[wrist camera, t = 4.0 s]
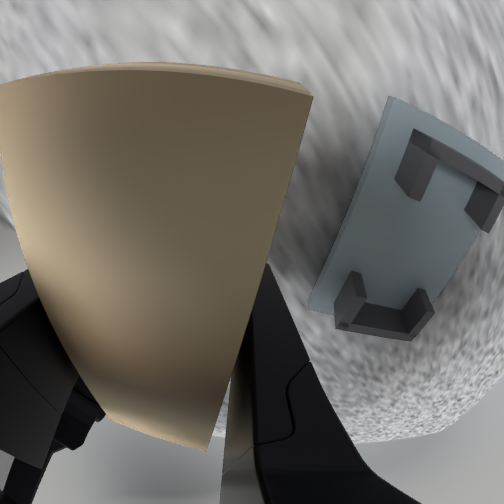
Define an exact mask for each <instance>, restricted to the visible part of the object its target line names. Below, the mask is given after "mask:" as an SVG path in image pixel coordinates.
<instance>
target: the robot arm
mask: <svg viewBox="0 0 504 504" xmlns="http://www.w3.org/2000/svg"><path fill="white" fill-rule="evenodd" d="M309 361H310V359H309V356H308V354H307V352H306V349H305V347H304V345H303V342H302V340H301V337H300V335H299V333H298V330H297V328H296V326H295V323H294V321H293V319H292V316H291V314H290V312H289V310H288V307H287V305H286V303H285V300H284V298H283V296H282V293H281V291H280V289H279V286H278V284H277V282H276V279H275V277H274V275H273V273H272V270H271V268H270V266H269V264H267V263H266V265H265V268H264V271H263V275H262V278H261V281H260V285H259V288H258V291H257V294H256V298H255V301H254V304H253V307H252V311H251V314H250V317H249V320H248V324H247V327H246V330H245V333H244V336H243V340H242V343H241V346H240V349H239V352H238V356H237V359H236V362H235V365H234V368H233V371H232V374H231V383H230V394H229V404H228V415H227V426H226V437H225V448H224V459H223V470H222V474H223V475H222V482H221V493H220V504H421V503H419V502H418V501H416V500H415V499H413V498H411V497H410V496H408V495H406V494H405V493H403V492H402V491H400V490H398V489H397V488H396V487H394V486H392V485H391V484H389V483H388V482H386V481H385V480H383V479H382V478H381V477H379V476H378V475H377V474H376V473H375V472H373V471H372V470H371V469H370V467H369V466H367V464H366V463H365V461H364V460H363V459H362V457H361V456H360V454H359V453H358V451H357V449H356V447H355V446H354V444H353V442H352V440H351V439H350V437H349V435H348V434H347V432H346V430H345V428H344V427H343V425H342V423H341V421H340V420H339V418H338V416H337V415H336V413H335V411H334V409H333V407H332V405H331V404H330V402H329V400H328V398H327V396H326V394H325V392H324V390H323V388H322V386H321V384H320V382H319V379H318V377H317V375H316V373H315V370H314V368H313V365H312V363H311V362H309ZM105 415H106V413H105V412H104V410H103V409H102V408H101V406H100V405H99V403H98V402H97V401H96V399H95V398H94V396H93V395H92V393H91V392H90V390H89V389H88V387H87V386H86V384H85V383H84V381H83V379H82V378H81V376H80V375H79V373H78V371H77V370H76V368H75V366H74V365H73V363H72V361H71V360H70V358H69V356H68V354H67V353H66V351H65V349H64V347H63V345H62V343H61V342H60V340H59V338H58V336H57V334H56V332H55V330H54V328H53V326H52V324H51V322H50V320H49V318H48V316H47V313H46V311H45V309H44V307H43V304H42V302H41V300H40V298H39V295H38V293H37V290H36V288H35V285H34V283H33V280H32V278H31V275H30V272H29V270H28V269H27V270H25V271H24V272H21V273H19V274H17V275H15V276H13V277H11V278H9V279H7V280H5V281H3V282H1V283H0V504H32V501H33V499H34V496H35V494H36V491H37V489H38V486H39V484H40V482H41V479H42V477H43V475H44V472H45V470H46V467H47V465H48V463H49V461H50V459H51V456H52V455H53V453H55V452H57V451H60V450H62V449H64V448H66V447H67V448H69V449H71V450H75V449H77V448H78V447H80V446H81V445H82V444H83V443H84V441H85V438H86V436H87V434H88V432H89V430H90V429H91V427H92V425H93V423H94V422H95V421H96V422H99V421H101V420H102V419H103V418H104V416H105Z"/></svg>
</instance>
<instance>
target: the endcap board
mask: <svg viewBox="0 0 504 504" xmlns="http://www.w3.org/2000/svg"><path fill="white" fill-rule="evenodd" d="M503 205H504V161H503V160H502V159H500V158H499V157H497V156H496V155H495V154H493V153H492V152H490V151H489V150H488V149H486V148H485V147H483V146H482V145H480V144H479V143H477V142H476V141H474V140H473V139H471V138H470V137H468V136H466V135H465V134H463V133H462V132H460V131H458V130H457V129H455V128H453V127H452V126H450V125H448V124H446V123H445V122H443V121H441V120H439V119H437V118H435V117H434V116H432V115H430V114H428V113H426V112H424V111H422V110H420V109H418V108H416V107H414V106H412V105H410V104H408V103H406V102H403V101H401V100H399V99H397V98H395V97H391V96H388V100H387V103H386V106H385V109H384V112H383V115H382V118H381V121H380V124H379V127H378V130H377V133H376V136H375V139H374V142H373V145H372V148H371V151H370V153H369V156H368V159H367V162H366V164H365V167H364V170H363V173H362V175H361V178H360V180H359V183H358V186H357V188H356V191H355V193H354V196H353V198H352V201H351V203H350V206H349V208H348V211H347V213H346V216H345V218H344V221H343V223H342V225H341V228H340V230H339V232H338V235H337V237H336V239H335V242H334V244H333V246H332V249H331V251H330V253H329V255H328V258H327V260H326V262H325V264H324V267H323V269H322V271H321V273H320V275H319V277H318V280H317V282H316V284H315V286H314V288H313V290H312V292H311V294H310V296H309V299H308V309H309V310H313V311H318V312H323V313H327V314H332V315H335V327H336V329H340V330H345V331H351V332H356V333H362V334H367V335H373V336H379V337H385V338H391V339H398V340H404V341H412V340H413V338H414V337H415V336H416V335H417V334H418V333H419V332H420V330H421V329H422V328H423V327H424V326H425V325H426V323H427V322H428V321H429V320H430V318H431V317H432V316H433V315H434V310H433V308H432V305H431V304H432V303H433V302H434V301H435V299H436V298H437V296H438V295H439V294H440V292H441V291H442V290H443V288H444V287H445V285H446V284H447V282H448V281H449V280H450V278H451V277H452V275H453V274H454V272H455V271H456V269H457V268H458V266H459V265H460V263H461V261H462V260H463V258H464V257H465V255H466V253H467V252H468V250H469V249H470V247H471V245H472V244H473V242H474V240H475V238H476V237H477V235H478V233H479V231H480V230H483V231H485V232H487V233H489V232H490V230H491V228H492V226H493V225H494V223H495V221H496V219H497V217H498V215H499V213H500V211H501V209H502V207H503Z"/></svg>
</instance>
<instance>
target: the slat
mask: <svg viewBox="0 0 504 504" xmlns="http://www.w3.org/2000/svg"><path fill="white" fill-rule="evenodd" d="M312 100H313V96H312V95H311V94H310V93H309V92H308V91H307V89H306V88H304V87H303V86H302V85H301V84H300V83H299V82H295V81H291V80H286V79H282V78H278V77H273V76H269V75H264V74H259V73H253V72H248V71H242V70H236V69H229V68H222V67H215V66H206V65H196V64H185V63H169V62H138V63H118V64H105V65H95V66H87V67H79V68H72V69H66V70H60V71H54V72H49V73H44V74H40V75H35V76H31V77H27V78H23V79H19V80H15V81H12V82H8V83H5V84H2V85H0V153H1V161H2V168H3V174H4V180H5V186H6V191H7V196H8V201H9V205H10V209H11V214H12V218H13V222H14V225H15V229H16V233H17V236H18V239H19V242H20V246H21V249H22V252H23V255H24V258H25V261H26V264H27V267H28V270H29V272H30V275H31V278H32V280H33V283H34V285H35V288H36V290H37V293H38V295H39V298H40V300H41V302H42V304H43V307H44V309H45V311H46V313H47V316H48V318H49V320H50V322H51V324H52V326H53V328H54V330H55V332H56V334H57V336H58V338H59V340H60V342H61V343H62V345H63V347H64V349H65V351H66V353H67V354H68V356H69V358H70V360H71V361H72V363H73V365H74V366H75V368H76V370H77V371H78V373H79V375H80V376H81V378H82V379H83V381H84V383H85V384H86V386H87V387H88V389H89V390H90V392H91V393H92V395H93V396H94V398H95V399H96V401H97V402H98V403H99V405H100V406H101V408H102V409H103V410H104V412H105V413H106V414H107V416H108V417H109V418H110V420H112V421H115V422H117V423H119V424H122V425H124V426H127V427H129V428H132V429H135V430H137V431H140V432H142V433H145V434H148V435H151V436H154V437H157V438H160V439H163V440H166V441H169V442H172V443H176V444H179V445H183V446H186V447H190V448H194V449H198V450H202V451H207V448H208V445H209V442H210V439H211V436H212V433H213V430H214V427H215V424H216V421H217V418H218V415H219V412H220V408H221V405H222V402H223V399H224V396H225V393H226V390H227V387H228V384H229V381H230V378H231V374H232V371H233V368H234V365H235V362H236V359H237V356H238V352H239V349H240V346H241V343H242V340H243V336H244V333H245V330H246V327H247V324H248V320H249V317H250V314H251V311H252V307H253V304H254V301H255V298H256V294H257V291H258V288H259V285H260V281H261V278H262V275H263V271H264V268H265V265H266V261H267V258H268V255H269V251H270V248H271V245H272V241H273V238H274V234H275V231H276V228H277V224H278V221H279V217H280V214H281V210H282V207H283V204H284V200H285V197H286V193H287V190H288V186H289V183H290V179H291V176H292V172H293V169H294V165H295V162H296V158H297V154H298V151H299V147H300V144H301V140H302V137H303V133H304V129H305V126H306V122H307V118H308V115H309V111H310V107H311V104H312Z"/></svg>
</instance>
